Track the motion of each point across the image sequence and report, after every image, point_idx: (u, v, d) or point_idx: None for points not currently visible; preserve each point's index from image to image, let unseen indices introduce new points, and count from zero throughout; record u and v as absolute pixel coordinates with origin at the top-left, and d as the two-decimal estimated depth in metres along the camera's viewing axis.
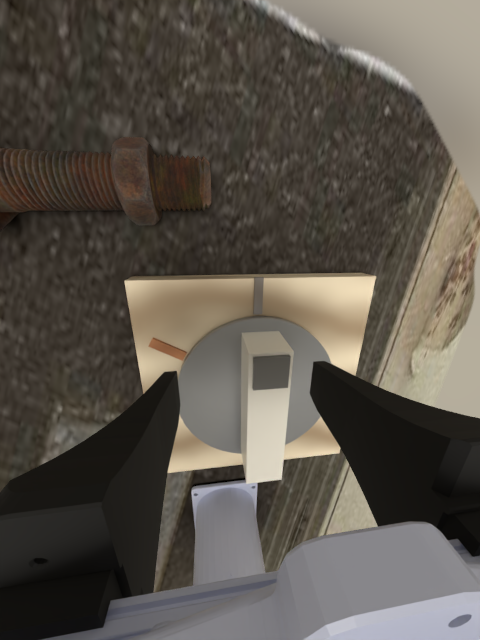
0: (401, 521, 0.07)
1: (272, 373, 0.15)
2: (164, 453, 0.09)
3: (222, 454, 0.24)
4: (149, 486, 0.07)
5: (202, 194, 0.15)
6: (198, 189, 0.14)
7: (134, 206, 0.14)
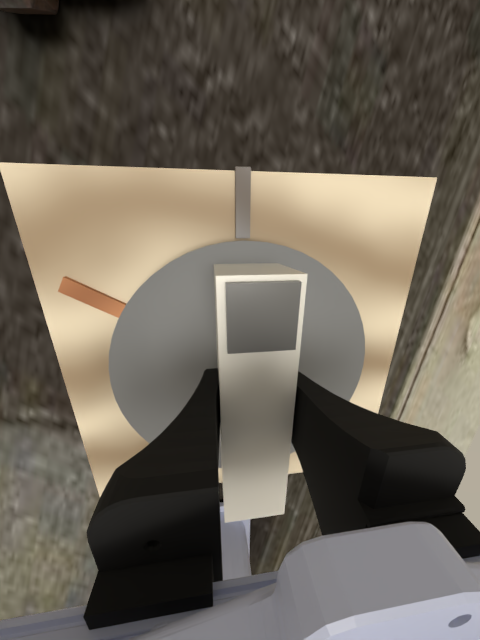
0: (337, 532, 0.07)
1: (265, 318, 0.08)
2: (217, 447, 0.09)
3: None
4: (218, 477, 0.07)
5: None
6: None
7: None
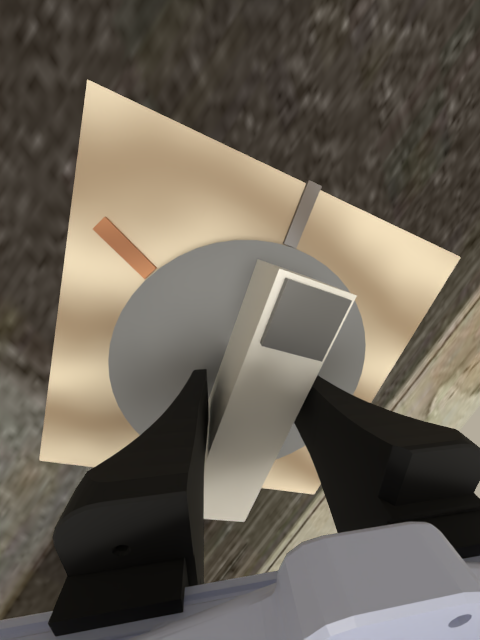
0: (355, 529, 0.07)
1: (308, 323, 0.08)
2: (202, 449, 0.09)
3: None
4: (199, 480, 0.07)
5: None
6: None
7: None
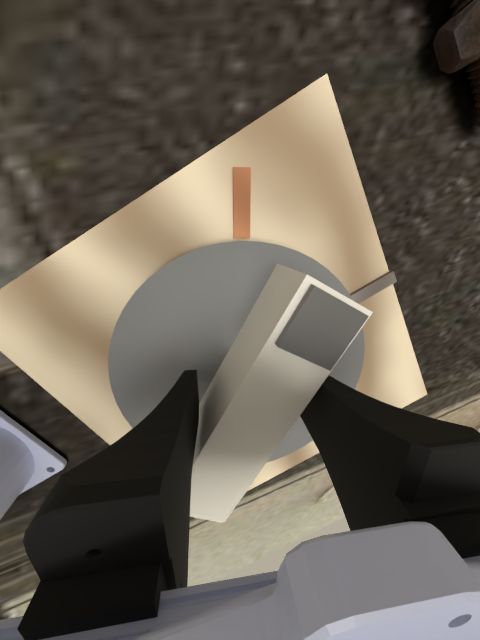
0: (370, 526, 0.07)
1: (325, 331, 0.08)
2: (190, 450, 0.09)
3: (91, 393, 0.13)
4: (182, 482, 0.07)
5: None
6: None
7: None
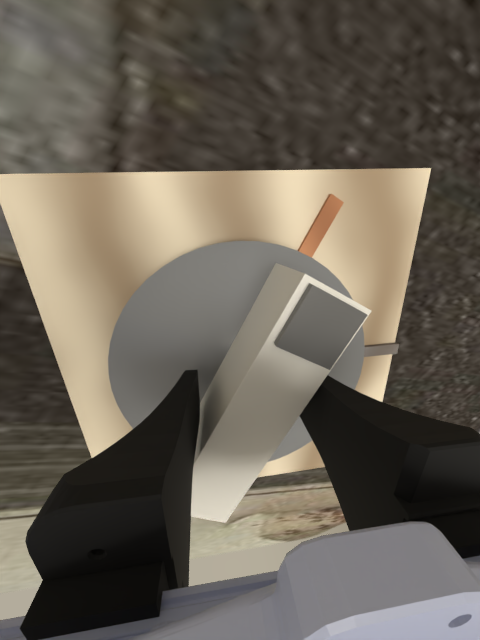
0: (369, 527, 0.07)
1: (323, 330, 0.08)
2: (191, 450, 0.09)
3: (81, 324, 0.12)
4: (184, 482, 0.07)
5: None
6: None
7: None
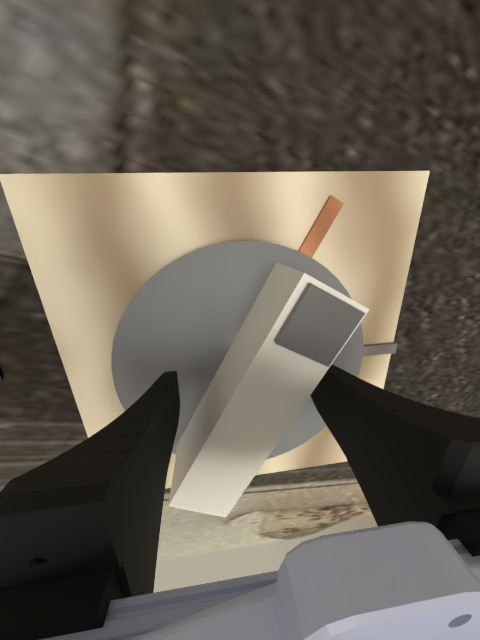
0: (401, 522, 0.07)
1: (322, 328, 0.08)
2: (164, 453, 0.09)
3: (85, 322, 0.12)
4: (149, 486, 0.07)
5: None
6: None
7: None
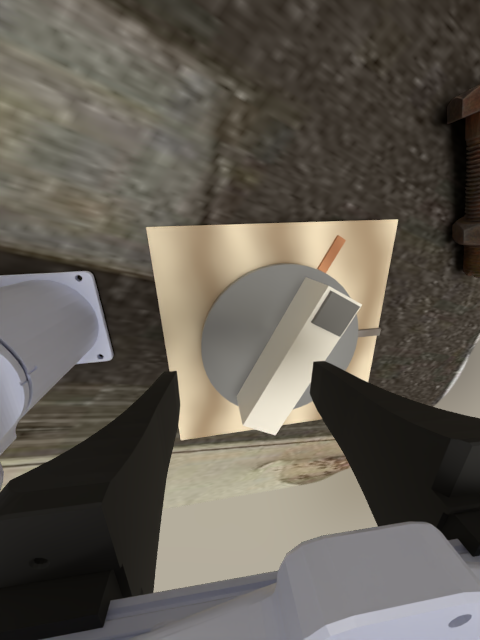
0: (401, 522, 0.07)
1: (337, 315, 0.15)
2: (164, 453, 0.09)
3: (182, 315, 0.19)
4: (149, 486, 0.07)
5: None
6: None
7: None
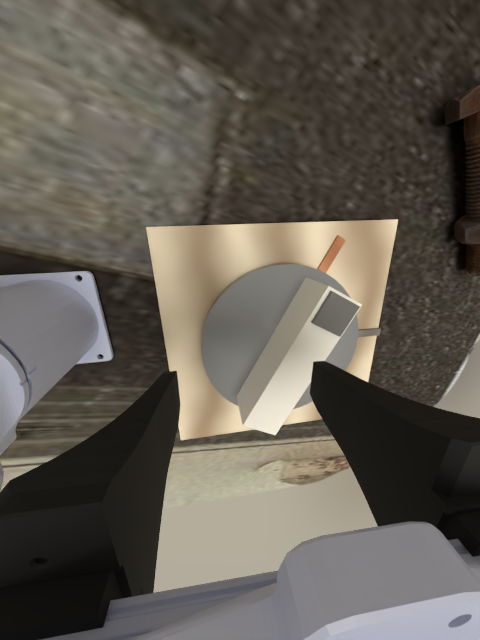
0: (401, 522, 0.07)
1: (337, 315, 0.15)
2: (164, 453, 0.09)
3: (182, 315, 0.19)
4: (149, 486, 0.07)
5: None
6: None
7: None
